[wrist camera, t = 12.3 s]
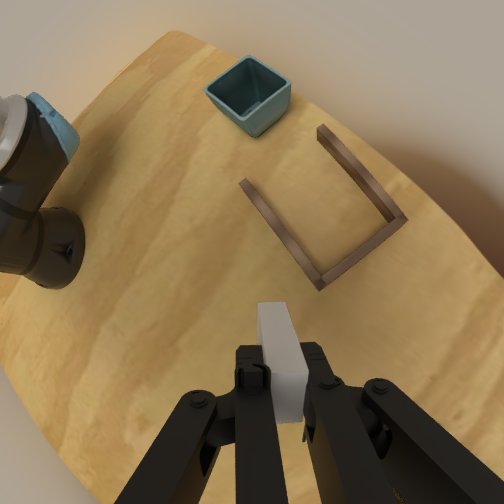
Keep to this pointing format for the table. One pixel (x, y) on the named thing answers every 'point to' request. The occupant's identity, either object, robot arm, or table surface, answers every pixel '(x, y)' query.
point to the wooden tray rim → (367, 186)
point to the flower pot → (251, 95)
